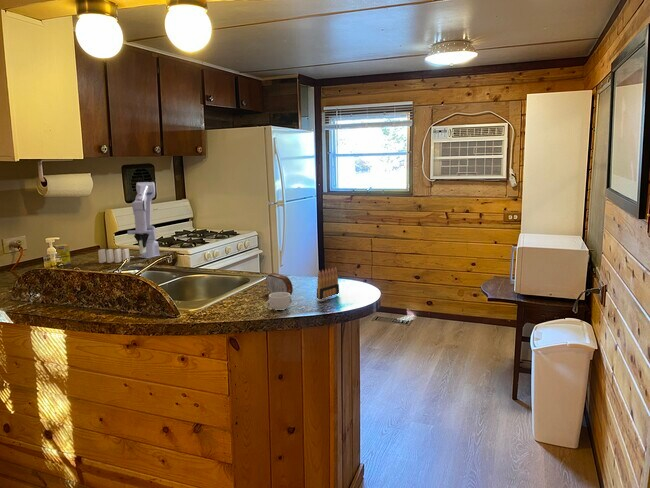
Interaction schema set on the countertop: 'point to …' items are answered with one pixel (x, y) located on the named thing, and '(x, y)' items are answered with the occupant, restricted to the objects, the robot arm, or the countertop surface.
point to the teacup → (279, 300)
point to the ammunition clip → (327, 283)
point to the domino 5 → (141, 247)
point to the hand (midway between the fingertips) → (142, 247)
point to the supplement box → (63, 253)
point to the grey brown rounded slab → (278, 283)
